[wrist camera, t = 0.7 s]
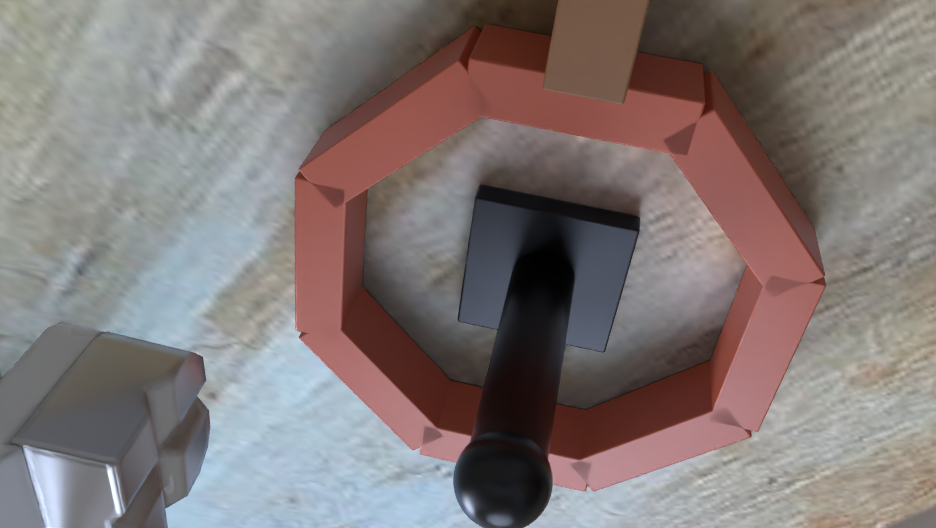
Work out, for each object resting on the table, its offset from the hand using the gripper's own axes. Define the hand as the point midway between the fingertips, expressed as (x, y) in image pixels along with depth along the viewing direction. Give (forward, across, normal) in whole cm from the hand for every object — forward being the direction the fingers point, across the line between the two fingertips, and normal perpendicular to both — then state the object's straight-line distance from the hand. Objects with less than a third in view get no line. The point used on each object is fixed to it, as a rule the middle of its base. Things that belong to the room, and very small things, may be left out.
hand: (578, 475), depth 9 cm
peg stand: (+17, +1, +10) cm, 20 cm away
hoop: (+17, +1, +7) cm, 18 cm away
